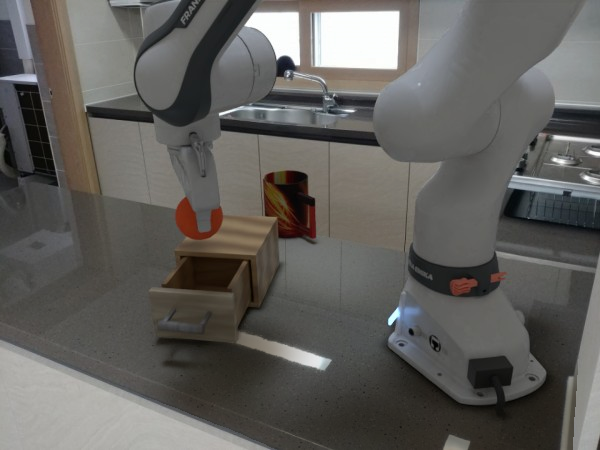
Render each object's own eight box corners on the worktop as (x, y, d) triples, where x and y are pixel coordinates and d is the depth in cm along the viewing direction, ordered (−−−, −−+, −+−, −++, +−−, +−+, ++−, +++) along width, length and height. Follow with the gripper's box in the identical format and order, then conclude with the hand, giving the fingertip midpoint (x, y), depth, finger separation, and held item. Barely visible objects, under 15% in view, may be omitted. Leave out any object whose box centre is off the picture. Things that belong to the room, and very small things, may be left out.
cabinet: (259, 307, 89) (255, 255, 85) (181, 301, 91) (174, 250, 88) (279, 263, 103) (277, 217, 99) (211, 259, 106) (206, 213, 102)
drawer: (226, 363, 74) (221, 315, 71) (141, 355, 77) (133, 308, 73) (260, 292, 92) (257, 251, 89) (190, 287, 94) (185, 247, 91)
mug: (314, 244, 111) (313, 190, 106) (257, 233, 117) (254, 181, 112) (333, 227, 118) (333, 175, 114) (279, 217, 124) (277, 168, 120)
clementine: (168, 233, 82) (162, 189, 79) (211, 222, 85) (206, 180, 82) (188, 252, 75) (182, 205, 73) (232, 240, 79) (228, 194, 76)
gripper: (226, 140, 66) (235, 242, 71) (198, 110, 83) (207, 193, 89) (174, 146, 64) (187, 250, 69) (156, 114, 81) (168, 199, 87)
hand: (198, 218), depth 79 cm, fingers closed on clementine, 8 cm apart
